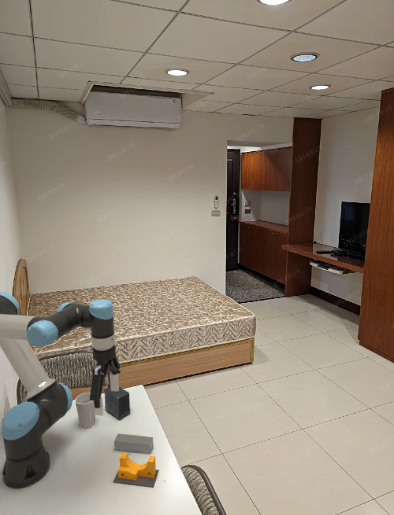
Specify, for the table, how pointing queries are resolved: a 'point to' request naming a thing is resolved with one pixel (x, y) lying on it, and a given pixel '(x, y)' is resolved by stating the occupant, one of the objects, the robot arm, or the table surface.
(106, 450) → the table surface
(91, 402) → the cup
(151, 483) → the pad
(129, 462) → the pipe clamp
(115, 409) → the small box
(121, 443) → the grey rectangular bar
